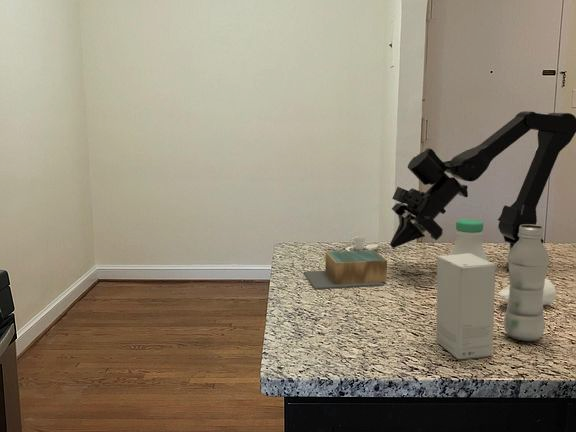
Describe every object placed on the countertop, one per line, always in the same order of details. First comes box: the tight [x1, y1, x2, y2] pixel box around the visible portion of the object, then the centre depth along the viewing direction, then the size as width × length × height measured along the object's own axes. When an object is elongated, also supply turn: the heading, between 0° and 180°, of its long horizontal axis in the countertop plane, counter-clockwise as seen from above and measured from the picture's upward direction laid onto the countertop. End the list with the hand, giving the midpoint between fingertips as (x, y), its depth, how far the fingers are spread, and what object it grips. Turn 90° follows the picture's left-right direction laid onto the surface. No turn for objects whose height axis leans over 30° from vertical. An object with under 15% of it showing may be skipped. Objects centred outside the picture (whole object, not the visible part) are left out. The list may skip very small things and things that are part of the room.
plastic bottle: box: [503, 224, 550, 342], centre depth 101 cm, size 6×7×20 cm
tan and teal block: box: [324, 249, 388, 284], centre depth 137 cm, size 5×10×12 cm
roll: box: [497, 277, 557, 306], centre depth 118 cm, size 6×12×6 cm, turn 111°
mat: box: [303, 270, 385, 290], centre depth 137 cm, size 16×13×1 cm
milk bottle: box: [448, 218, 489, 261], centre depth 106 cm, size 8×8×20 cm
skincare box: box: [435, 253, 497, 360], centre depth 97 cm, size 8×7×16 cm
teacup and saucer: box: [345, 235, 379, 251], centre depth 165 cm, size 9×8×4 cm
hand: (391, 246), depth 138 cm, fingers closed
